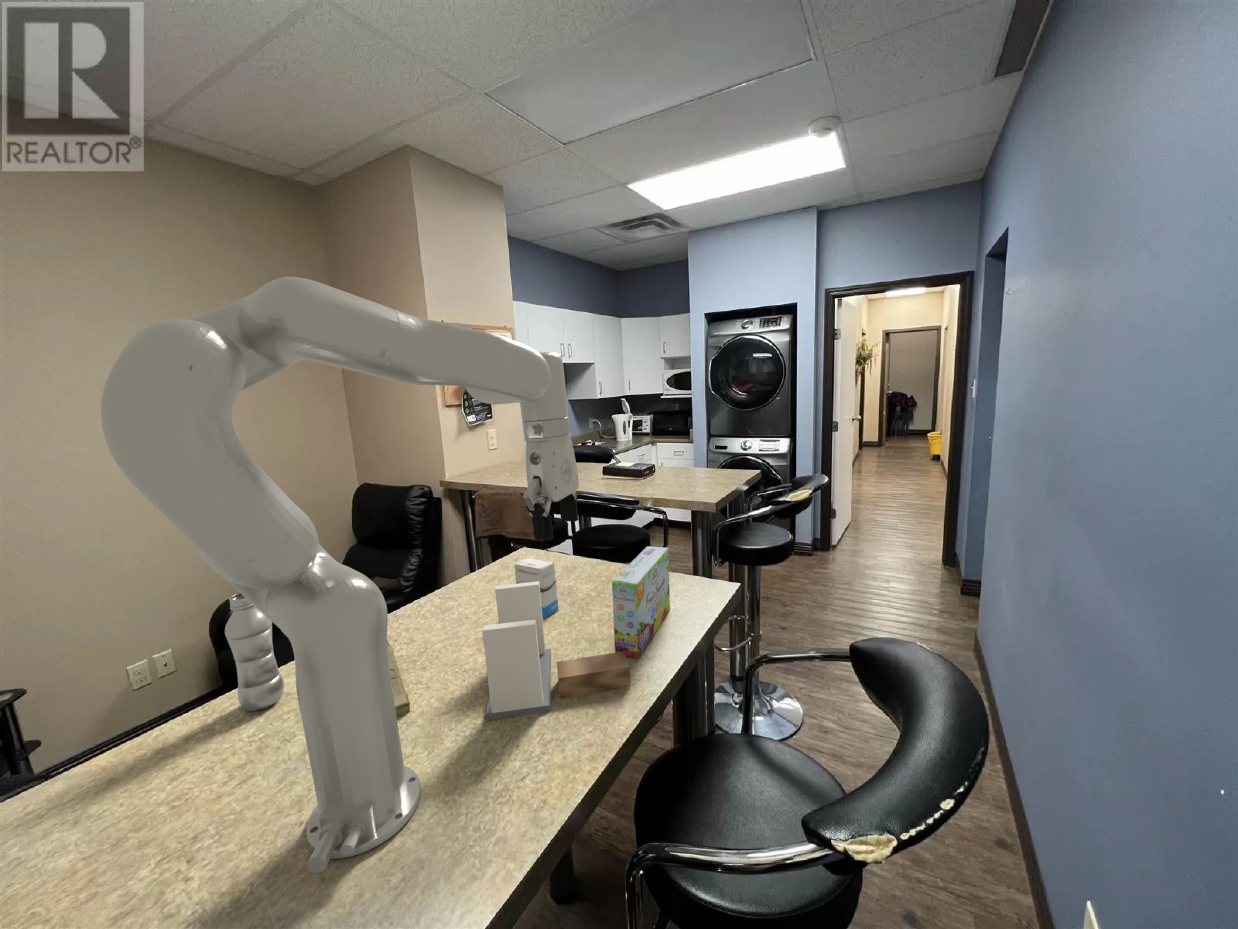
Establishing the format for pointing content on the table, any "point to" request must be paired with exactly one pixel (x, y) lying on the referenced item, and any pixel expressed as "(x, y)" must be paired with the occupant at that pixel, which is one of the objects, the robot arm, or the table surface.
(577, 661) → the brown wooden block
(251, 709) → the plastic bottle
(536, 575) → the ink box
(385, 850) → the table surface
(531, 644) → the stand
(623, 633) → the snack box
